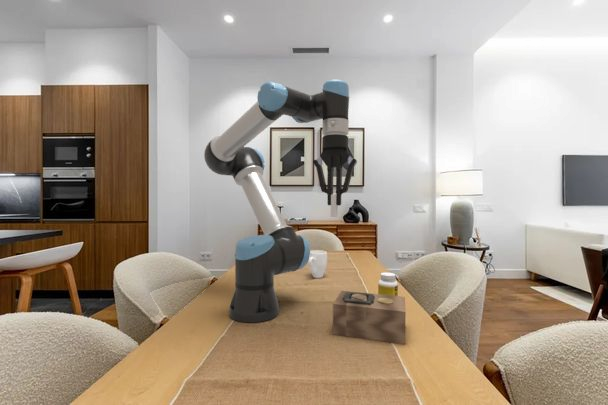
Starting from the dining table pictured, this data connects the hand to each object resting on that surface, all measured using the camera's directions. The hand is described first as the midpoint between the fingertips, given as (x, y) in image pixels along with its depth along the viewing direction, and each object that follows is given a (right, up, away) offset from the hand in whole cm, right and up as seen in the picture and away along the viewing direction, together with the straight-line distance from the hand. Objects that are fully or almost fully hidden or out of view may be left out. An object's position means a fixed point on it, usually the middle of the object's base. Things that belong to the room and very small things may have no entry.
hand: (334, 216), depth 90 cm
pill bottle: (+18, -30, +10) cm, 37 cm away
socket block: (+9, -30, -7) cm, 32 cm away
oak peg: (+6, -30, -6) cm, 31 cm away
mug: (-4, -30, +47) cm, 56 cm away
